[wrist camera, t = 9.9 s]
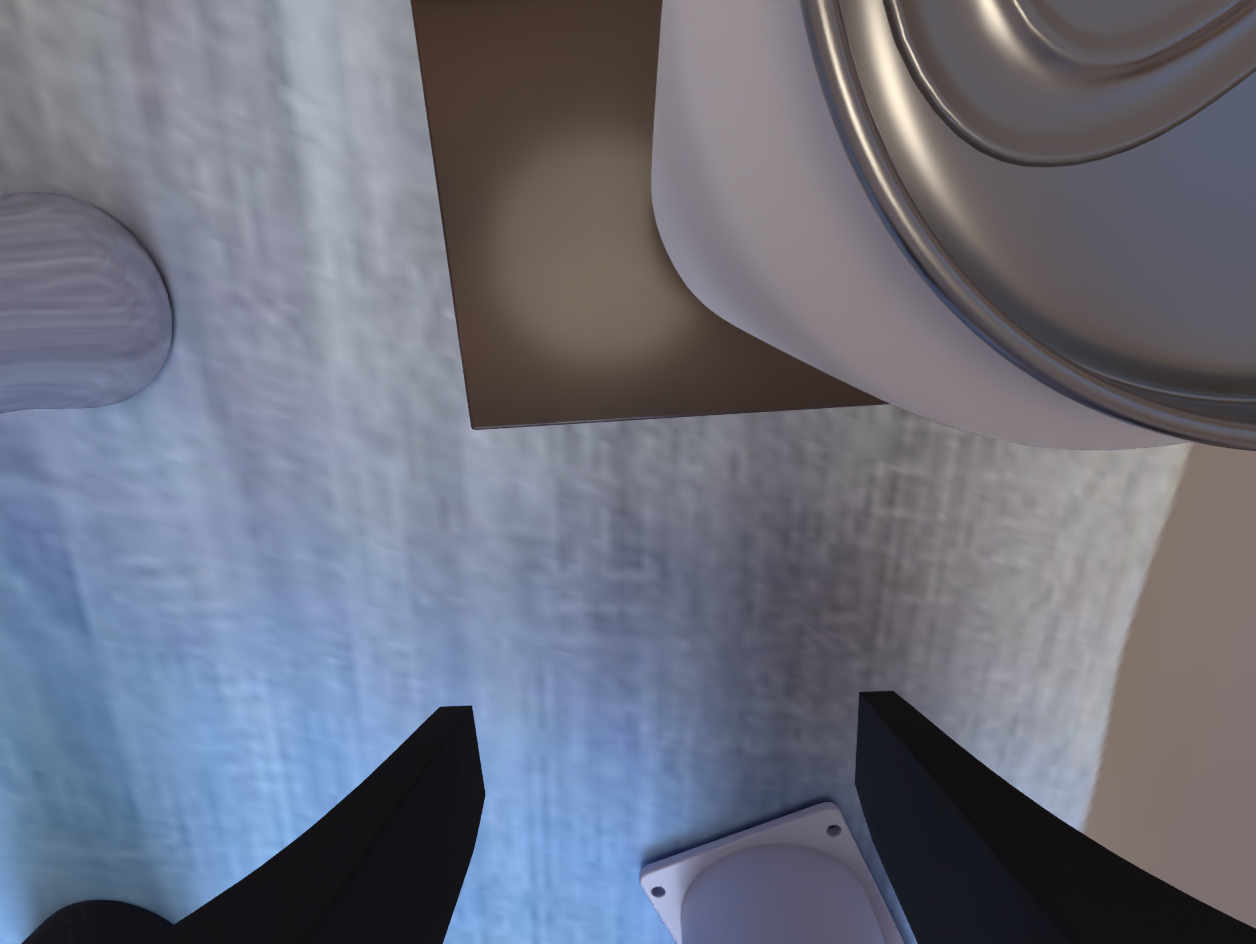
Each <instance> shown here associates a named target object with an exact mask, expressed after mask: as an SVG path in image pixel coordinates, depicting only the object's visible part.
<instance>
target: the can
mask: <svg viewBox="0 0 1256 944" xmlns="http://www.w3.org/2000/svg"><path fill="white" fill-rule="evenodd" d="M651 196H652V204H653V211H654V216H655V220H656V224H657V227H658V231H659V234H660V237H661V239H662V242H663V244H664V247H665V249H666V251H667V253H668V255H669V257H670V259H671V261H672V263H673V265H674V267H675V269H676V270H677V272H678V274H679V275H680V277H681V278H682V280H683V281H684V283H685V284H686V286H687V287H688V288H689V289H690V291H691V292H692V293H693V294H694V295H695V296H696V297H697V298H698V299H699V300H700V301H701V302H702V303H703V304H704V305H705V306H706V307H708V308H709V309H710V310H711V311H713V312H714V313H715V314H717V315H718V316H720V317H721V318H723V319H724V320H726V321H727V322H729V323H731V324H732V325H734V326H736V327H738V328H740V329H741V330H743V331H745V332H747V333H749V334H751V335H752V336H754V337H756V338H758V339H760V340H762V341H764V342H766V343H768V344H770V345H772V346H774V347H775V348H777V349H779V350H781V351H783V352H785V353H787V354H789V355H791V356H793V357H795V358H797V359H799V360H801V361H803V362H805V363H807V364H809V365H811V366H813V367H815V368H817V369H819V370H821V371H823V372H825V373H827V374H829V375H831V376H833V377H835V378H837V379H839V380H841V381H843V382H845V383H847V384H849V385H851V386H853V387H856V388H858V389H860V390H862V391H864V392H866V393H868V394H870V395H872V396H874V397H876V398H879V399H881V400H883V401H885V402H887V403H890V404H892V405H895V406H897V407H899V408H902V409H904V410H907V411H909V412H911V413H914V414H916V415H919V416H921V417H924V418H926V419H929V420H931V421H934V422H937V423H940V424H942V425H945V426H949V427H952V428H955V429H958V430H962V431H965V432H969V433H973V434H977V435H981V436H985V437H990V438H994V439H998V440H1002V441H1007V442H1012V443H1018V444H1023V445H1030V446H1037V447H1045V448H1055V449H1068V450H1121V449H1135V448H1147V447H1158V446H1167V445H1174V444H1181V443H1188V442H1197V443H1202V444H1207V445H1213V446H1220V447H1226V448H1233V449H1242V450H1251V451H1256V0H663V2H662V14H661V27H660V41H659V55H658V69H657V84H656V99H655V114H654V129H653V146H652V167H651Z"/></svg>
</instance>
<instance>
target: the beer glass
mask: <svg viewBox="0 0 1256 944" xmlns="http://www.w3.org/2000/svg"><path fill="white" fill-rule="evenodd" d="M171 340H172V311H171V305H170V301H169V297H168V293H167V290H166V287H165V285H164V282H163V280H162V277H161V275H160V273H159V271H158V269H157V267H156V266H155V264H154V262H153V261H152V259H151V257H150V256H149V254H148V253H147V252H146V250H145V249H144V248H143V246H142V245H141V244H140V243H139V242H138V240H137V239H136V238H135V237H134V236H133V235H132V234H131V233H130V232H129V231H128V230H127V229H126V228H124V227H123V226H122V225H121V224H120V223H118V222H117V221H116V220H115V219H113V218H112V217H110V216H109V215H107V214H106V213H104V212H102V211H101V210H99V209H97V208H95V207H93V206H91V205H89V204H87V203H84V202H82V201H79V200H76V199H73V198H70V197H67V196H63V195H58V194H51V193H40V192H18V193H2V194H0V414H1V413H7V412H13V411H19V410H33V409H81V408H96V407H103V406H109V405H113V404H117V403H120V402H123V401H125V400H127V399H129V398H131V397H133V396H135V395H137V394H138V393H140V392H141V391H143V390H144V389H145V388H146V387H147V386H149V385H150V384H151V383H152V381H153V380H154V379H155V378H156V377H157V375H158V374H159V372H160V371H161V369H162V367H163V365H164V363H165V361H166V359H167V356H168V353H169V350H170V345H171Z"/></svg>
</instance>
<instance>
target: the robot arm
mask: <svg viewBox="0 0 1256 944" xmlns="http://www.w3.org/2000/svg"><path fill="white" fill-rule="evenodd" d="M855 786H856V789H857V793H858V796H859V799H860V803H861V806H862V809H863V813H864V816H865V819H866V822H867V825H868V828H869V832H870V835H871V838H872V841H873V843H874V845H875V848H876V850H877V852H878V855H879V857H880V859H881V862H882V864H883V866H884V868H885V871H886V873H887V875H888V878H889V880H890V882H891V884H892V887H893V889H894V891H895V893H896V896H897V898H898V900H899V902H900V905H901V907H902V909H903V911H904V914H905V916H906V918H907V920H908V923H909V925H910V927H911V929H912V932H913V934H914V936H915V938H916V941H917V943H918V944H1256V929H1255V928H1253V927H1251V926H1249V925H1247V924H1245V923H1243V922H1241V921H1239V920H1236V919H1234V918H1233V917H1230V916H1228V915H1227V914H1225V913H1222V912H1221V911H1219V910H1217V909H1214V908H1213V907H1211V906H1209V905H1207V904H1205V903H1203V902H1201V901H1199V900H1197V899H1195V898H1193V897H1191V896H1190V895H1188V894H1186V893H1184V892H1182V891H1180V890H1178V889H1177V888H1175V887H1173V886H1171V885H1169V884H1168V883H1166V882H1164V881H1162V880H1160V879H1158V878H1156V877H1155V876H1153V875H1151V874H1149V873H1147V872H1145V871H1144V870H1142V869H1140V868H1139V867H1137V866H1135V865H1133V864H1132V863H1130V862H1128V861H1126V860H1125V859H1123V858H1121V857H1120V856H1118V855H1116V854H1114V853H1113V852H1111V851H1109V850H1108V849H1106V848H1105V847H1103V846H1102V845H1100V844H1098V843H1097V842H1095V841H1094V840H1092V839H1090V838H1089V837H1087V836H1086V835H1084V834H1082V833H1081V832H1079V831H1078V830H1076V829H1074V828H1073V827H1071V826H1070V825H1068V824H1066V823H1065V822H1063V821H1062V820H1060V819H1059V818H1057V817H1056V816H1054V815H1053V814H1051V813H1050V812H1048V811H1047V810H1046V809H1044V808H1043V807H1041V806H1040V805H1038V804H1037V803H1036V802H1034V801H1033V800H1031V799H1030V798H1029V797H1027V796H1026V795H1024V794H1023V793H1022V792H1020V791H1019V790H1017V789H1016V788H1015V787H1013V786H1012V785H1010V784H1009V783H1008V782H1006V781H1005V780H1004V779H1002V778H1001V777H1000V776H998V775H997V774H996V773H994V772H993V771H992V770H990V769H989V768H988V767H986V766H985V765H984V764H983V763H981V762H980V761H979V760H977V759H976V758H975V757H974V756H972V755H971V754H970V753H969V752H967V751H966V750H965V749H963V748H962V747H961V746H960V745H959V744H957V743H956V742H955V741H954V740H952V739H951V738H950V737H949V736H947V735H946V734H945V733H944V732H943V731H941V730H940V729H939V728H938V727H937V726H935V725H934V724H933V723H932V722H931V721H929V720H928V719H927V718H926V717H925V716H923V715H922V714H921V713H920V712H919V711H917V710H916V709H915V708H914V707H913V706H911V705H910V704H909V703H908V702H907V701H905V700H904V699H903V698H902V697H900V696H899V695H898V694H897V693H895V692H894V691H874V692H859V708H858V729H857V749H856V770H855ZM484 799H485V789H484V782H483V775H482V769H481V762H480V756H479V749H478V742H477V736H476V729H475V723H474V716H473V710H472V706H447V707H439V708H438V709H437V710H436V711H435V712H434V713H433V714H432V715H431V716H430V717H429V718H428V719H427V720H426V721H425V722H424V723H423V724H422V725H421V726H420V727H419V728H418V729H417V730H416V731H415V732H414V733H413V734H412V735H411V736H410V737H409V738H408V739H407V740H406V741H405V742H404V743H403V744H402V745H401V746H400V747H399V748H398V749H397V750H396V751H394V752H393V753H392V754H391V755H390V756H389V757H388V758H387V759H386V760H385V761H384V762H383V763H382V764H381V765H380V766H379V767H378V768H377V769H376V770H375V771H374V772H373V773H372V774H371V775H370V776H368V777H367V778H366V779H365V780H364V781H363V782H362V783H361V784H360V785H359V786H358V787H356V788H355V789H354V790H353V791H352V792H351V793H350V794H349V795H347V796H346V797H345V798H344V799H343V800H342V801H341V802H339V803H338V804H337V805H336V806H335V807H334V808H333V809H331V810H330V811H329V812H328V813H327V814H326V815H325V816H324V817H322V818H321V819H320V820H319V821H318V822H317V823H316V824H314V825H313V826H312V827H311V828H309V829H308V830H307V831H306V832H305V833H303V834H302V835H301V836H300V837H298V838H297V839H296V840H295V841H293V842H292V843H291V844H290V845H288V846H287V847H286V848H284V849H283V850H282V851H280V852H279V853H278V854H276V855H275V856H274V857H272V858H271V859H270V860H268V861H267V862H266V863H264V864H263V865H262V866H260V867H259V868H258V869H256V870H255V871H253V872H252V873H251V874H249V875H248V876H247V877H245V878H244V879H242V880H241V881H239V882H238V883H236V884H235V885H233V886H232V887H230V888H229V889H227V890H226V891H224V892H223V893H221V894H220V895H218V896H217V897H215V898H214V899H212V900H211V901H209V902H208V903H206V904H205V905H203V906H202V907H200V908H199V909H197V910H196V911H194V912H193V913H191V914H190V915H188V916H187V917H185V918H184V919H182V920H180V921H179V922H177V923H176V924H174V925H172V926H171V927H169V928H167V929H166V930H164V931H162V932H161V933H159V934H158V935H156V936H154V937H153V938H151V939H149V940H148V941H146V942H144V943H143V944H443V941H444V938H445V935H446V932H447V929H448V926H449V923H450V920H451V917H452V915H453V912H454V909H455V906H456V903H457V900H458V897H459V894H460V891H461V888H462V885H463V882H464V879H465V876H466V873H467V870H468V867H469V864H470V860H471V857H472V854H473V851H474V847H475V842H476V838H477V833H478V829H479V824H480V819H481V814H482V809H483V804H484ZM831 825H836V826H835V827H832V828H829V827H830V826H831ZM639 882H640V885H641V887H642V888H643V890H644V892H645V893H646V895H647V897H648V898H649V900H650V901H651V903H652V905H653V906H654V908H655V910H656V911H657V913H658V915H659V916H660V918H661V919H662V921H663V923H664V924H665V926H666V928H667V929H668V931H669V932H670V934H671V936H672V937H673V939H674V941H675V942H676V944H905V943H904V941H903V939H902V937H901V935H900V933H899V931H898V929H897V927H896V925H895V923H894V920H893V918H892V916H891V914H890V912H889V910H888V908H887V906H886V904H885V902H884V900H883V898H882V896H881V894H880V892H879V889H878V887H877V885H876V883H875V881H874V879H873V877H872V875H871V873H870V871H869V869H868V867H867V865H866V863H865V861H864V859H863V856H862V854H861V852H860V850H859V848H858V846H857V844H856V842H855V840H854V838H853V836H852V834H851V832H850V830H849V828H848V825H847V823H846V821H845V819H844V817H843V815H842V813H841V811H840V809H839V808H838V806H837V805H836V804H834V803H831V802H824V803H820V804H817V805H814V806H811V807H808V808H806V809H803V810H800V811H797V812H794V813H792V814H789V815H786V816H783V817H780V818H778V819H775V820H772V821H769V822H766V823H763V824H761V825H758V826H755V827H752V828H749V829H747V830H744V831H741V832H738V833H735V834H733V835H730V836H727V837H724V838H721V839H719V840H716V841H713V842H710V843H707V844H704V845H702V846H699V847H696V848H693V849H690V850H688V851H685V852H682V853H679V854H676V855H674V856H671V857H668V858H665V859H662V860H659V861H657V862H654V863H651V864H648V865H646V866H644V867H643V868H642V869H641V870H640V879H639ZM657 887H660V888H657Z"/></svg>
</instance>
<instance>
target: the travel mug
mask: <svg viewBox="0 0 1256 944" xmlns="http://www.w3.org/2000/svg"><path fill="white" fill-rule="evenodd" d="M171 926H172V925H170V924H169V923H167V922H166V921H164V920H163V919H161V918H159V917H157V916H156V915H154V914H152V913H149V912H147V911H145V910H142V909H140V908H136V907H133V906H130V905H126V904H121V903H116V902H108V901H92V902H83V903H78V904H74V905H71V906H68V907H65V908H63V909H61V910H59V911H58V912H56V913H55V914H53V915H52V916H50V917H49V918H48V919H46V920H45V921H44V922H43V923H42V924H41V925H40V926H39V927H38V928H37V929H36V930H35V931H34V932H33V933H32V934H31V935H30V936H29V937H28V938H27V939H26V940H25V941H24V942H23V943H22V944H143V943H144V942H146V941H148V940H149V939H151V938H153V937H154V936H156V935H158V934H159V933H161V932H162V931H164V930H166V929H167V928H169V927H171Z"/></svg>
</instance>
